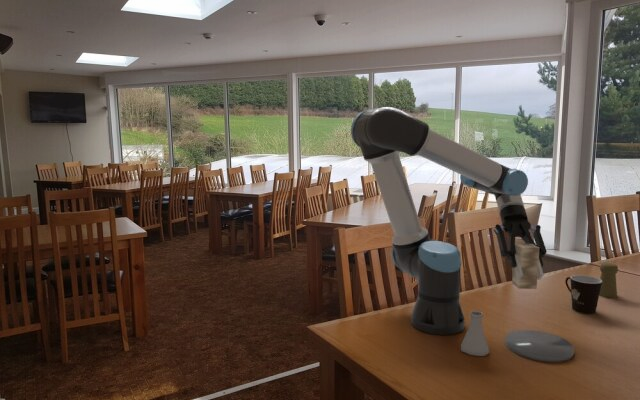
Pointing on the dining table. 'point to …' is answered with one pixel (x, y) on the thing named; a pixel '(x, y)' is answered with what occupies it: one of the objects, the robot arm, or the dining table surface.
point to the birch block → (527, 266)
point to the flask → (475, 337)
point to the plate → (539, 346)
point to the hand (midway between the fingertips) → (530, 277)
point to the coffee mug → (584, 293)
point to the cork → (608, 280)
